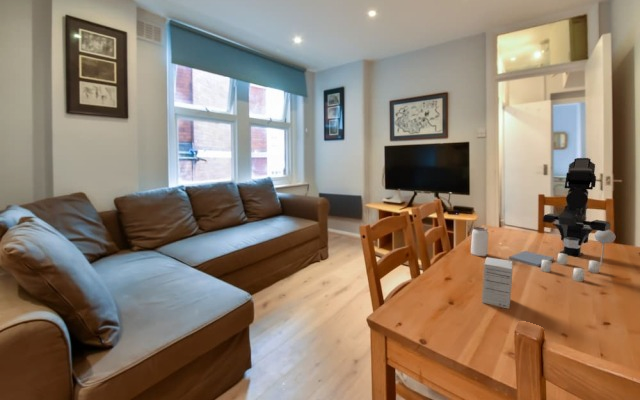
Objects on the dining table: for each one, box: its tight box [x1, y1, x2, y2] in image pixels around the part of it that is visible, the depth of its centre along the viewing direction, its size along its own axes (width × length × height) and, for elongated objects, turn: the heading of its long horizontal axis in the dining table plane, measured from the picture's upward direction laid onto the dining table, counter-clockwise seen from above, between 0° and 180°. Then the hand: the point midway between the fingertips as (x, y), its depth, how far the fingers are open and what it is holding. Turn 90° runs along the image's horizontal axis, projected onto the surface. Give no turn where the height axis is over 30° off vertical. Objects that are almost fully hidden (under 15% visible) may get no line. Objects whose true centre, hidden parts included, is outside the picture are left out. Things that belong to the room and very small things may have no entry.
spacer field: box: [540, 252, 601, 283], centre depth 112 cm, size 17×13×4 cm
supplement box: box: [481, 256, 514, 309], centre depth 90 cm, size 7×7×13 cm
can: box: [470, 226, 489, 257], centre depth 132 cm, size 6×6×12 cm
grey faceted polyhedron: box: [562, 237, 582, 249], centre depth 111 cm, size 5×4×3 cm
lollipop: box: [593, 229, 616, 266], centre depth 117 cm, size 6×6×15 cm
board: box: [508, 250, 555, 267], centre depth 125 cm, size 14×11×1 cm
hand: (571, 243), depth 111 cm, fingers closed on grey faceted polyhedron, 4 cm apart
